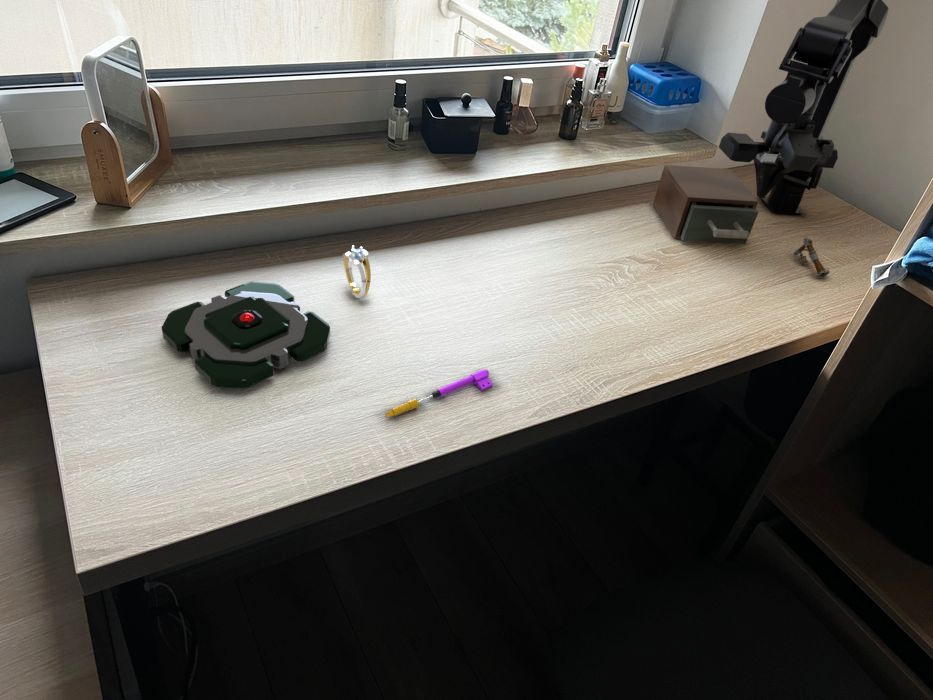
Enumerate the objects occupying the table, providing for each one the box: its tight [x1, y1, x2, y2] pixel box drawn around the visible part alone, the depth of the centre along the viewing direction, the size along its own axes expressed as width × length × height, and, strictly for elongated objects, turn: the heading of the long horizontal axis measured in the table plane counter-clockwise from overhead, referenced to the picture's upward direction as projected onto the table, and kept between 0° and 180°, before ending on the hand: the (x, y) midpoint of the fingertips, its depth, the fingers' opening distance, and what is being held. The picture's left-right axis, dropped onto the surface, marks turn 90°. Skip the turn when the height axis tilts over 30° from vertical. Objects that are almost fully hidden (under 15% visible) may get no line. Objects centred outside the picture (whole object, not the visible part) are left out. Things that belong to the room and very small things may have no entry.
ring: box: [342, 245, 372, 299], centre depth 106 cm, size 7×3×8 cm, turn 27°
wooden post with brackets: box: [793, 236, 831, 279], centre depth 131 cm, size 2×8×4 cm, turn 17°
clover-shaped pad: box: [161, 281, 331, 390], centre depth 96 cm, size 18×18×5 cm
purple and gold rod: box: [384, 369, 494, 419], centre depth 92 cm, size 3×1×16 cm
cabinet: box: [652, 164, 759, 240], centre depth 138 cm, size 14×14×9 cm
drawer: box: [680, 201, 759, 245], centre depth 134 cm, size 17×12×7 cm
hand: (760, 197), depth 125 cm, fingers closed
